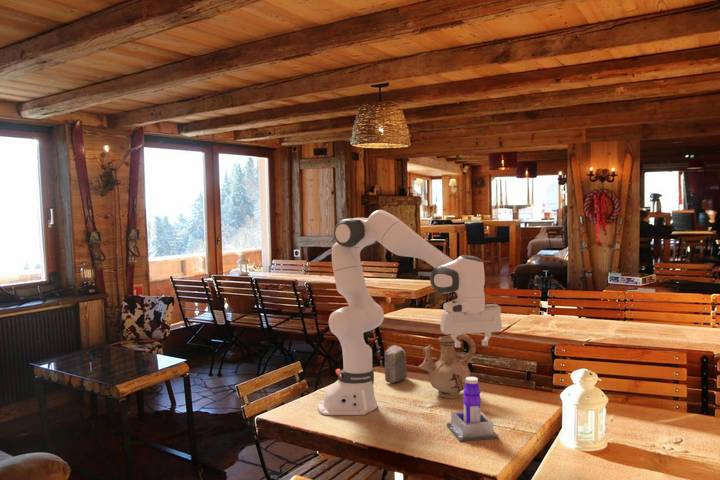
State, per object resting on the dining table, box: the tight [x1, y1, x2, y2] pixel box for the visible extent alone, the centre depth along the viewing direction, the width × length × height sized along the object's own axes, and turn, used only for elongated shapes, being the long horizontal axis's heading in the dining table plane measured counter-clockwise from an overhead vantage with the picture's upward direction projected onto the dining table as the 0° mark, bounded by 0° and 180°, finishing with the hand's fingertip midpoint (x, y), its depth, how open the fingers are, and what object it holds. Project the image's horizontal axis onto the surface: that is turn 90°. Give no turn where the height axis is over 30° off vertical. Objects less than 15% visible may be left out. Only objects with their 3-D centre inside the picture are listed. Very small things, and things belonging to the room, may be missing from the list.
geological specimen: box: [383, 344, 408, 384], centre depth 241 cm, size 11×6×15 cm, turn 147°
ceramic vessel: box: [417, 334, 477, 399], centre depth 221 cm, size 18×19×25 cm
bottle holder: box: [446, 410, 499, 443], centre depth 184 cm, size 13×13×5 cm
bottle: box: [462, 376, 482, 423], centre depth 183 cm, size 7×6×17 cm
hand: (471, 346), depth 183 cm, fingers open, 8 cm apart
